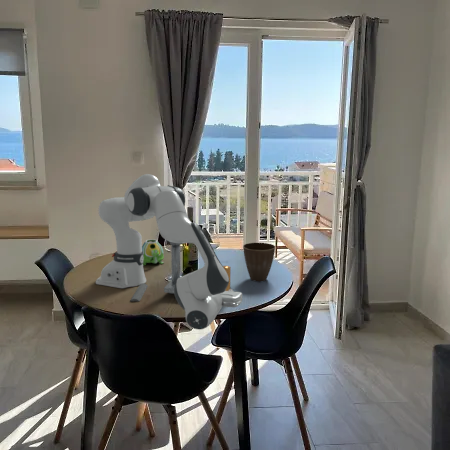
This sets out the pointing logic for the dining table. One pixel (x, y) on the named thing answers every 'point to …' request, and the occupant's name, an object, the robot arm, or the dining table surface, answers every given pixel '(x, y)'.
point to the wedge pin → (228, 269)
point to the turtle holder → (152, 252)
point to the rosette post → (174, 267)
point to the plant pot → (258, 260)
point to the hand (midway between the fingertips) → (219, 290)
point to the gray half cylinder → (139, 292)
